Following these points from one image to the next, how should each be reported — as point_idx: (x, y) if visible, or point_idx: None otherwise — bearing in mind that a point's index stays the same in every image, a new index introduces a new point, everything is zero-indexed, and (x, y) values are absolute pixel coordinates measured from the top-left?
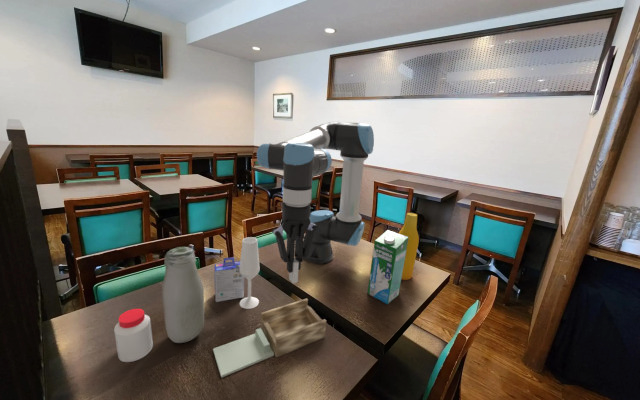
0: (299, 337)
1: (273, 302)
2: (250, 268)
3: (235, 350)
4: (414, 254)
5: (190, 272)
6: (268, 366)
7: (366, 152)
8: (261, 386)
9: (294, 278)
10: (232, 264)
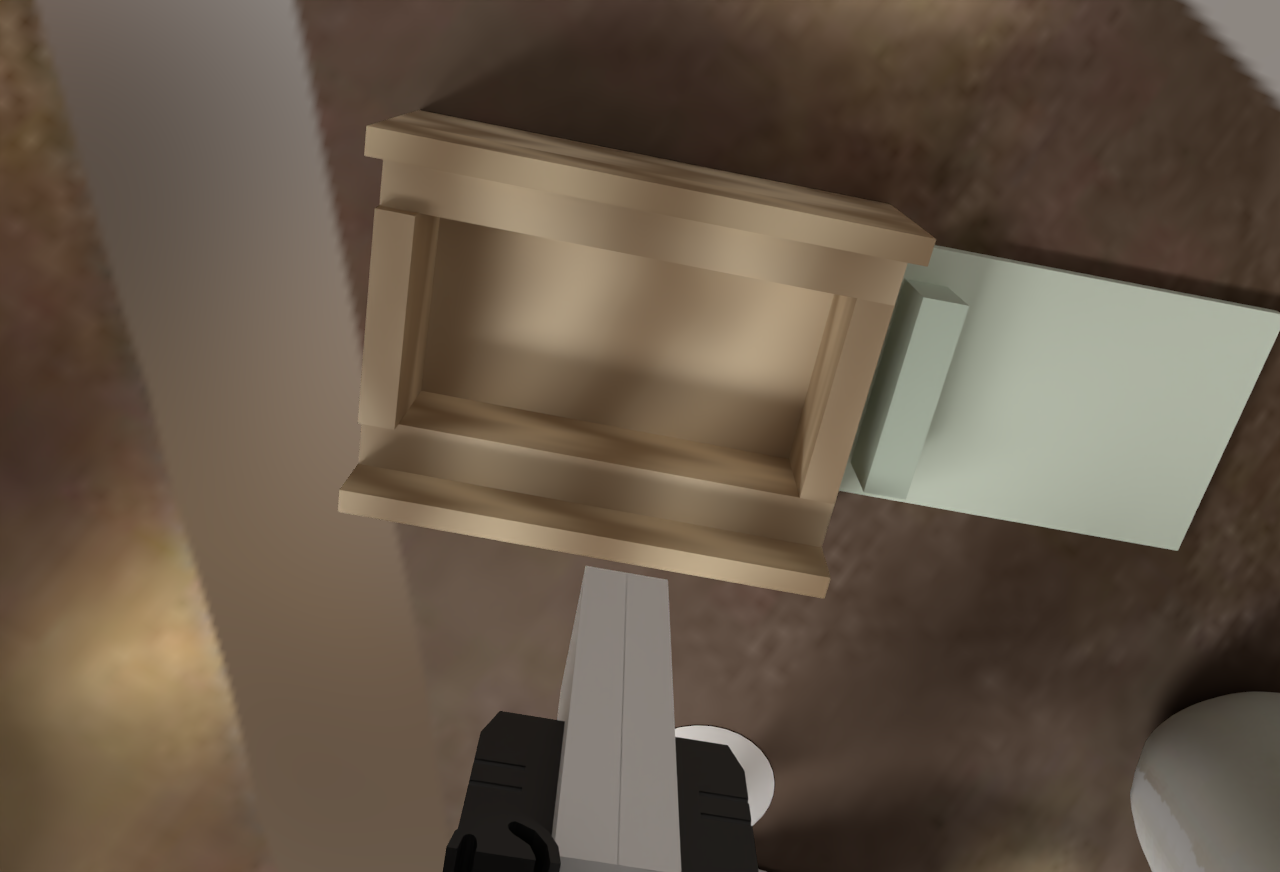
0: (689, 178)
1: (541, 689)
2: None
3: (1080, 444)
4: None
5: None
6: (984, 174)
7: None
8: (1138, 56)
9: (649, 624)
10: None
